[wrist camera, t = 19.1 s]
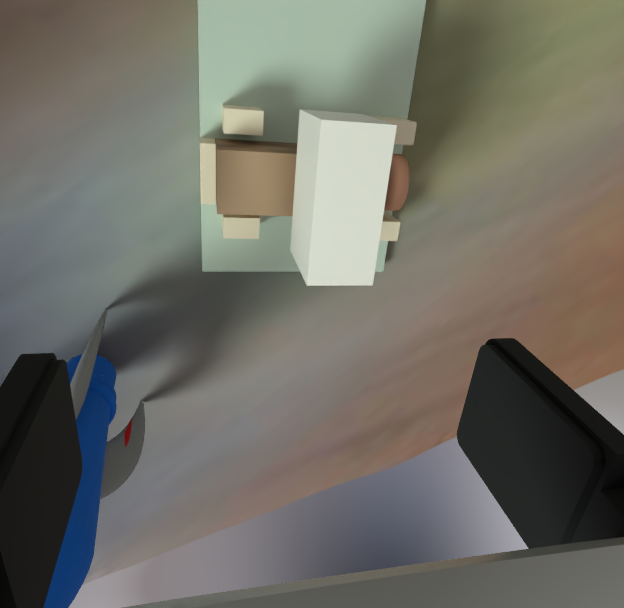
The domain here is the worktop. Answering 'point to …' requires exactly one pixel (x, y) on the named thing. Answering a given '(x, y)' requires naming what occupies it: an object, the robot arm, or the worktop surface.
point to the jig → (295, 98)
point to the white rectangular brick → (340, 196)
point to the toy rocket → (93, 463)
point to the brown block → (277, 178)
